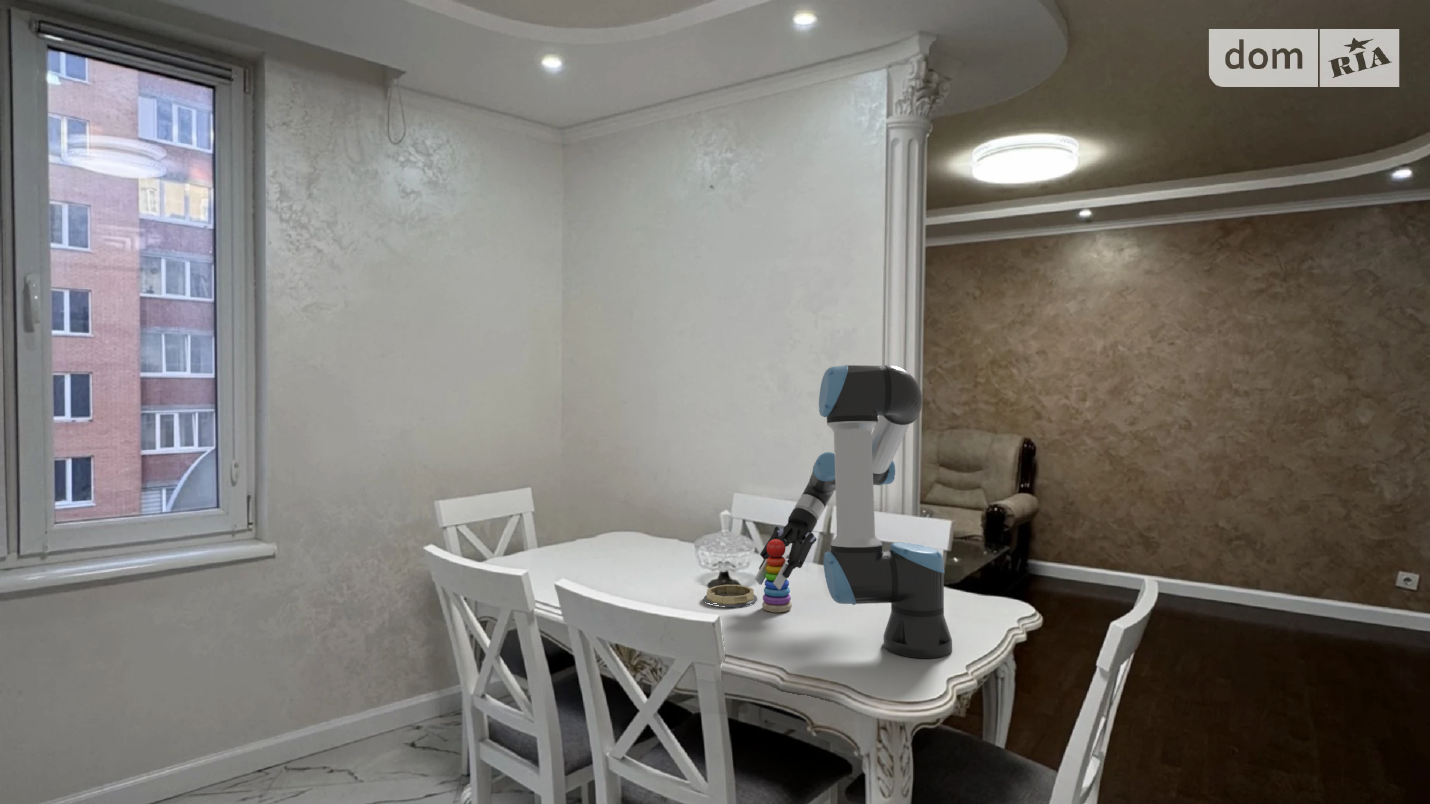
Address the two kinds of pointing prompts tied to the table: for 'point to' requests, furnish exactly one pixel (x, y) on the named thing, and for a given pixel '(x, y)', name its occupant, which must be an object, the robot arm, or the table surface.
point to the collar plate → (730, 595)
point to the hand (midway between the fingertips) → (767, 584)
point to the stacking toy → (773, 596)
